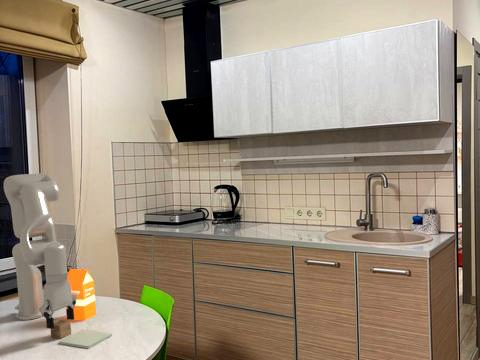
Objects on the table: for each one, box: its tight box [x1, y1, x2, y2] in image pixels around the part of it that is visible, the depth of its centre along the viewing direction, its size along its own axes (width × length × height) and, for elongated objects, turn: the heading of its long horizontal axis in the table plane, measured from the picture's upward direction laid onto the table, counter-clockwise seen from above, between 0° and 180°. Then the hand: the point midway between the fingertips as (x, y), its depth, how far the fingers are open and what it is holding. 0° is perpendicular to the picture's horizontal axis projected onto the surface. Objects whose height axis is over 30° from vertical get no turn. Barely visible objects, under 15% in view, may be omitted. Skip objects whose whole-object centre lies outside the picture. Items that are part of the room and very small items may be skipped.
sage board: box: [58, 329, 113, 349], centre depth 176 cm, size 14×12×1 cm
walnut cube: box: [50, 319, 72, 340], centre depth 181 cm, size 5×5×5 cm
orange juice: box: [65, 268, 97, 322], centre depth 201 cm, size 8×9×20 cm
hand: (60, 323), depth 180 cm, fingers open, 9 cm apart
